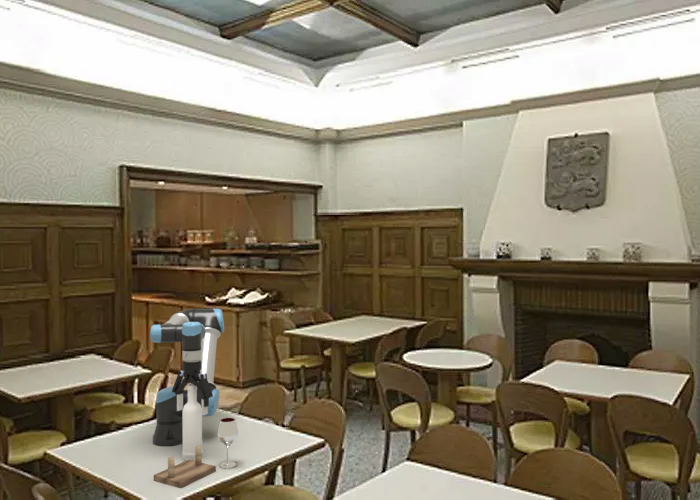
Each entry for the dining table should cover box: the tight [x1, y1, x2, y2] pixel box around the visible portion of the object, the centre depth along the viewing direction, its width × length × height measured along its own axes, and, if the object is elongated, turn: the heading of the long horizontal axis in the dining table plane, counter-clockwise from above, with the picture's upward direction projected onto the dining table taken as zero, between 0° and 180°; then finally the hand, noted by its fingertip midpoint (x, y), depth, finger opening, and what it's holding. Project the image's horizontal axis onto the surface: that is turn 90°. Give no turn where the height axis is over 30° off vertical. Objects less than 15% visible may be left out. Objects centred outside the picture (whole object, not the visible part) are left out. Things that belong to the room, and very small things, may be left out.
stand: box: [153, 445, 217, 489], centre depth 224 cm, size 14×18×9 cm
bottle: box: [181, 383, 203, 462], centre depth 243 cm, size 8×8×30 cm
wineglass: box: [216, 417, 239, 469], centre depth 235 cm, size 8×8×18 cm
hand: (192, 412), depth 242 cm, fingers open, 13 cm apart
